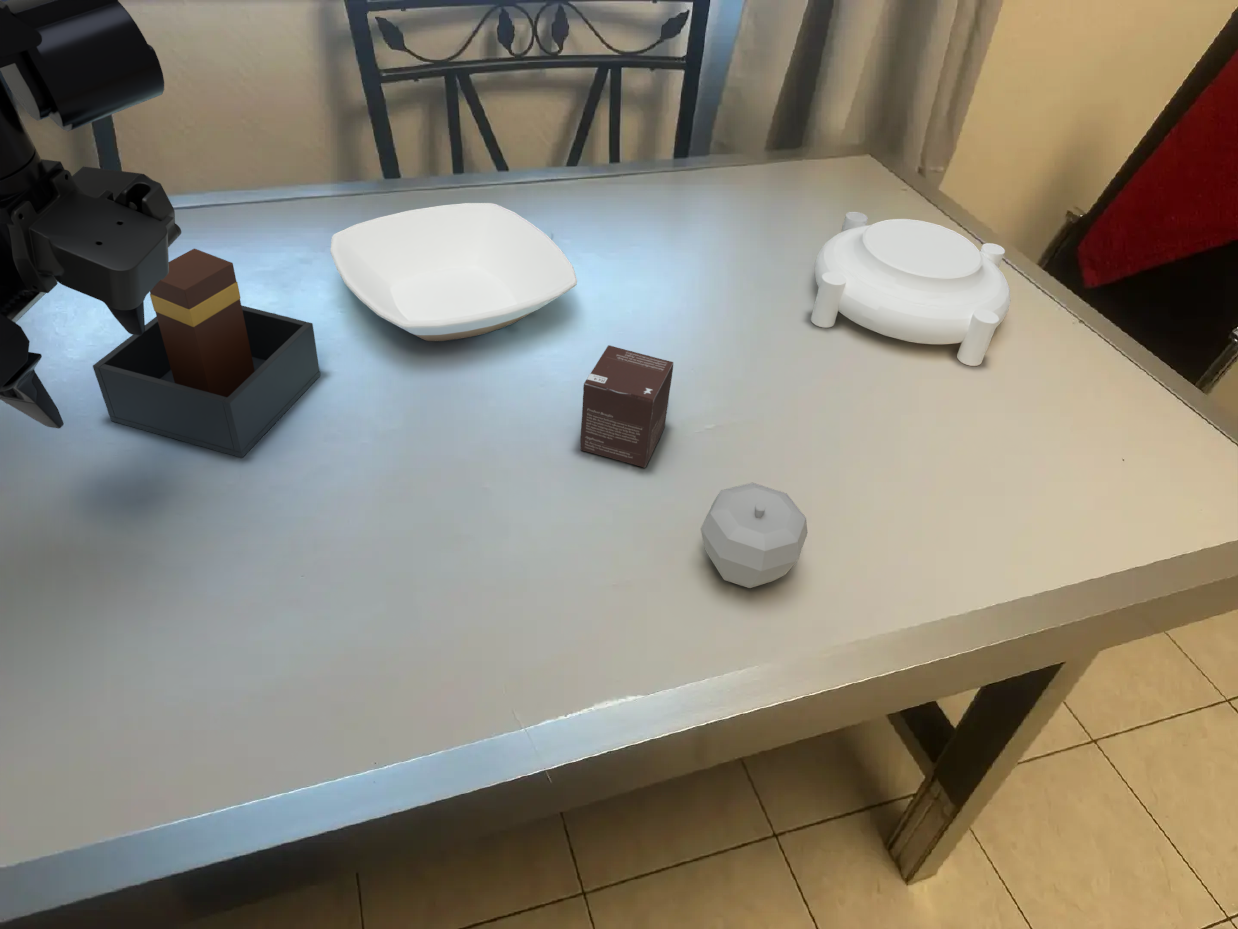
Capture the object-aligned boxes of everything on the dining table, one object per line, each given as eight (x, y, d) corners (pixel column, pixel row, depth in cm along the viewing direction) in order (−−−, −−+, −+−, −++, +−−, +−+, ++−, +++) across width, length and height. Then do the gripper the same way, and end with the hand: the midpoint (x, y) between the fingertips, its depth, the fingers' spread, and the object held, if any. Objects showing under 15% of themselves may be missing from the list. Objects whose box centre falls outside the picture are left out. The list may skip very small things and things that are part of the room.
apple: (736, 516, 77) (751, 455, 72) (817, 571, 73) (837, 509, 69) (671, 565, 72) (682, 503, 68) (753, 626, 68) (770, 564, 64)
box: (666, 429, 84) (676, 361, 79) (645, 470, 80) (654, 401, 75) (601, 411, 85) (607, 342, 81) (577, 450, 81) (582, 381, 76)
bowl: (501, 235, 108) (501, 191, 104) (601, 332, 95) (605, 286, 91) (312, 275, 98) (306, 229, 95) (395, 390, 85) (390, 341, 82)
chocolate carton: (215, 415, 79) (184, 290, 72) (178, 399, 81) (143, 274, 73) (258, 384, 83) (234, 262, 75) (222, 369, 84) (194, 247, 76)
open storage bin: (110, 421, 79) (92, 365, 75) (200, 344, 88) (188, 291, 84) (242, 458, 77) (229, 403, 73) (320, 375, 86) (312, 323, 82)
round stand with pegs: (919, 238, 116) (937, 183, 112) (1063, 344, 101) (1091, 285, 96) (753, 267, 107) (764, 208, 103) (882, 389, 92) (903, 326, 87)
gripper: (-5, 284, 44) (128, 503, 55) (202, 95, 56) (276, 306, 68) (-208, 254, 46) (-39, 473, 57) (36, 77, 58) (135, 286, 69)
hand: (98, 377), depth 63 cm, fingers open, 9 cm apart
